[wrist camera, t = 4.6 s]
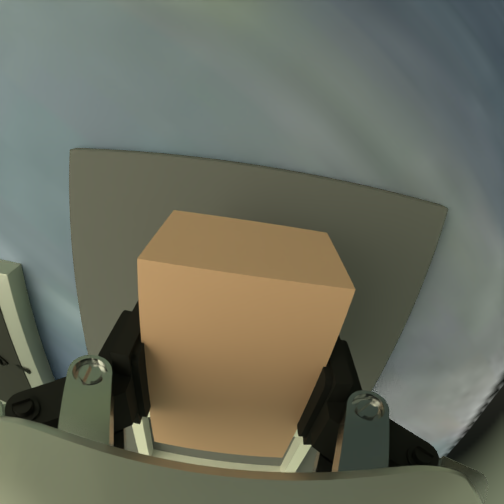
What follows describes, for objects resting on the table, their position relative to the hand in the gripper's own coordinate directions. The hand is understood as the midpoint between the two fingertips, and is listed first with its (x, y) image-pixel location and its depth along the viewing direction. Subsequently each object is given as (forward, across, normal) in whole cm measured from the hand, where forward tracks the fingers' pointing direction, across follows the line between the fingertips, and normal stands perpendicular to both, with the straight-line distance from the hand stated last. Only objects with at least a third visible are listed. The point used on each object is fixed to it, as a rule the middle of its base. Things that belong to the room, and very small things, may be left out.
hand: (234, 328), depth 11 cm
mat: (+3, 0, +7) cm, 8 cm away
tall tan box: (0, 0, 0) cm, 0 cm away
